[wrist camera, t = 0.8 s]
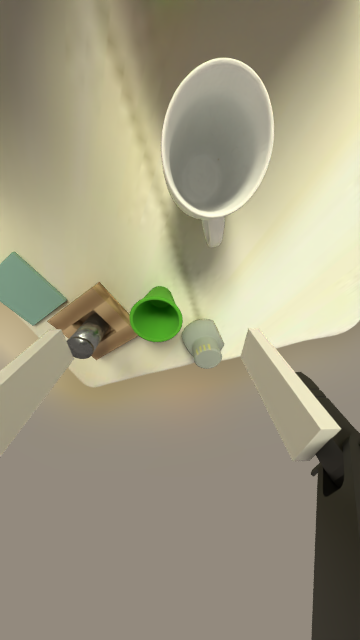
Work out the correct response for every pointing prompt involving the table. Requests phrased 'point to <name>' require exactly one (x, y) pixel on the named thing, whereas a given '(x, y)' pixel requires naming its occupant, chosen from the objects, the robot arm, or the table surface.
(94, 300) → the socket block
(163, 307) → the cup
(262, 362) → the robot arm
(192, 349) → the air freshener
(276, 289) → the table surface
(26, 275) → the mat
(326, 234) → the table surface
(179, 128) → the mug
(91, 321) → the gray metal can
